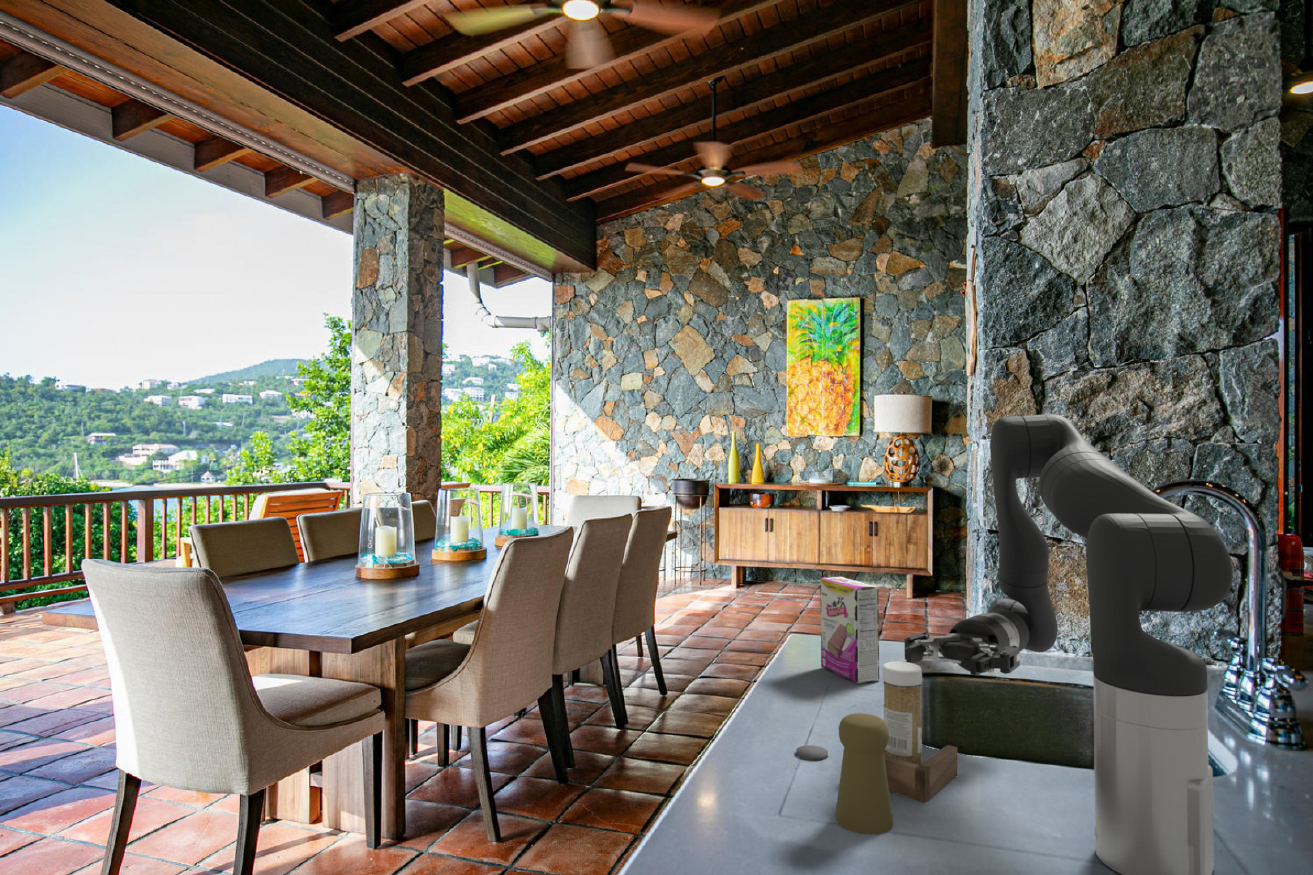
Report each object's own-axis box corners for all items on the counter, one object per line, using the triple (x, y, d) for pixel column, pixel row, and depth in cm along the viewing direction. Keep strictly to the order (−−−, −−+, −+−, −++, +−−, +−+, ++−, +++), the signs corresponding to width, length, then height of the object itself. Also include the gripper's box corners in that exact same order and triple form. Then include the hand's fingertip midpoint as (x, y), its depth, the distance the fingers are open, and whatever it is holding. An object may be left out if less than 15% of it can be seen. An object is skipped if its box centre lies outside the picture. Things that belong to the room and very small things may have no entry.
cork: (850, 802, 87) (849, 703, 87) (902, 818, 83) (902, 715, 83) (825, 822, 82) (824, 717, 83) (879, 840, 79) (878, 730, 79)
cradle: (957, 776, 94) (957, 747, 94) (925, 802, 87) (925, 770, 87) (884, 756, 100) (884, 728, 100) (849, 778, 93) (849, 749, 93)
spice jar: (930, 779, 93) (930, 666, 93) (905, 788, 91) (905, 672, 91) (899, 766, 97) (899, 658, 97) (875, 774, 94) (874, 663, 95)
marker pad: (833, 753, 101) (833, 750, 101) (817, 762, 98) (817, 759, 98) (806, 745, 104) (806, 742, 104) (790, 754, 101) (790, 751, 101)
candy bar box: (819, 668, 141) (818, 577, 142) (842, 665, 143) (841, 575, 143) (856, 685, 131) (855, 587, 131) (880, 681, 133) (880, 585, 133)
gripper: (936, 609, 119) (888, 625, 107) (1036, 621, 109) (995, 640, 97) (936, 658, 118) (889, 680, 106) (1036, 675, 109) (996, 701, 97)
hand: (940, 661), depth 102 cm, fingers open, 8 cm apart
